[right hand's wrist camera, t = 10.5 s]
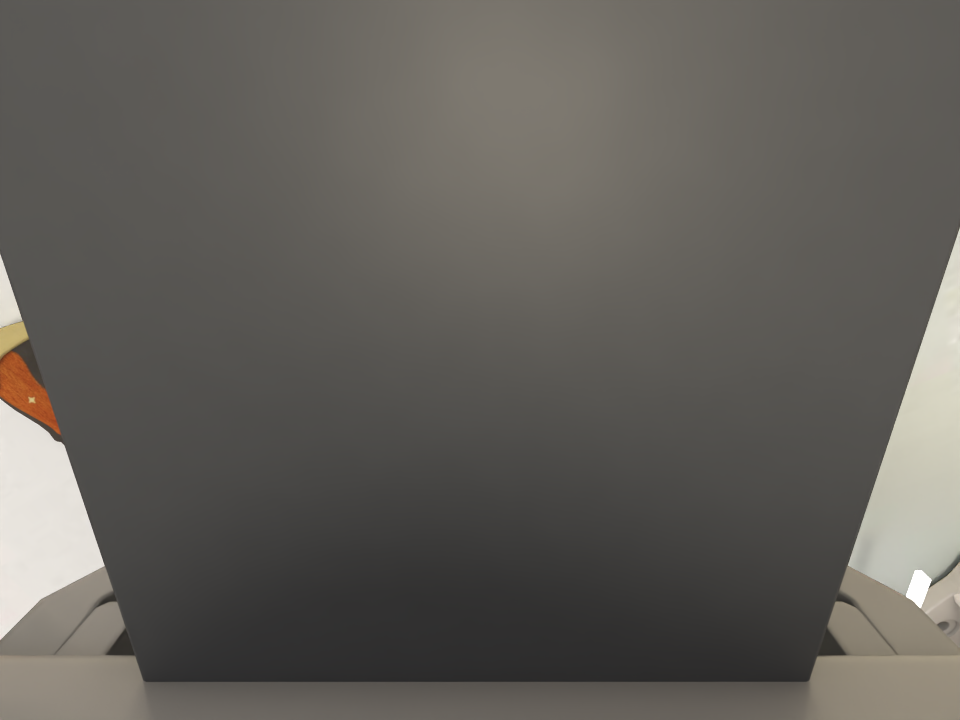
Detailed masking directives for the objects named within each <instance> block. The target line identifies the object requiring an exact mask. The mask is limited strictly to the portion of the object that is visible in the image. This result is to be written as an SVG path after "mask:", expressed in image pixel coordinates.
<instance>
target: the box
mask: <svg viewBox="0 0 960 720" xmlns="http://www.w3.org/2000/svg"><path fill="white" fill-rule="evenodd" d="M959 228H960V0H0V254H1V257H2V260H3V263H4V266H5V269H6V272H7V275H8V278H9V281H10V284H11V287H12V290H13V293H14V296H15V299H16V302H17V305H18V308H19V311H20V314H21V317H22V320H23V323H24V326H25V329H26V332H27V335H28V337H29V340H30V343H31V346H32V349H33V352H34V355H35V358H36V361H37V364H38V367H39V370H40V373H41V376H42V379H43V382H44V385H45V388H46V391H47V394H48V397H49V400H50V403H51V406H52V409H53V412H54V415H55V418H56V421H57V424H58V427H59V430H60V433H61V436H62V439H63V442H64V445H65V448H66V451H67V454H68V457H69V460H70V463H71V466H72V469H73V472H74V475H75V478H76V481H77V484H78V487H79V490H80V493H81V496H82V499H83V502H84V505H85V508H86V511H87V514H88V517H89V520H90V523H91V526H92V529H93V532H94V535H95V538H96V541H97V544H98V547H99V550H100V553H101V556H102V559H103V562H104V565H105V568H106V571H107V574H108V577H109V580H110V583H111V586H112V588H113V591H114V594H115V597H116V600H117V603H118V606H119V609H120V612H121V615H122V618H123V621H124V624H125V627H126V630H127V633H128V636H129V639H130V642H131V645H132V648H133V651H134V654H135V657H136V660H137V663H138V666H139V669H140V672H141V675H142V678H143V681H145V682H807V681H809V680H810V677H811V674H812V671H813V668H814V665H815V662H816V659H817V656H818V653H819V650H820V647H821V644H822V641H823V638H824V635H825V632H826V629H827V626H828V623H829V620H830V617H831V614H832V611H833V608H834V605H835V602H836V599H837V596H838V593H839V590H840V586H841V583H842V580H843V577H844V574H845V571H846V568H847V565H848V562H849V559H850V556H851V553H852V550H853V547H854V544H855V541H856V538H857V535H858V532H859V529H860V526H861V523H862V520H863V517H864V514H865V511H866V508H867V505H868V502H869V499H870V496H871V493H872V490H873V487H874V484H875V481H876V478H877V475H878V472H879V469H880V466H881V463H882V460H883V457H884V454H885V451H886V448H887V445H888V442H889V439H890V436H891V433H892V430H893V427H894V424H895V421H896V418H897V415H898V412H899V409H900V406H901V403H902V400H903V397H904V394H905V391H906V388H907V385H908V382H909V379H910V376H911V373H912V370H913V367H914V364H915V361H916V358H917V355H918V352H919V349H920V346H921V343H922V340H923V337H924V334H925V331H926V328H927V324H928V321H929V318H930V315H931V312H932V309H933V306H934V303H935V300H936V297H937V294H938V291H939V288H940V285H941V282H942V279H943V276H944V273H945V270H946V267H947V264H948V261H949V258H950V255H951V252H952V249H953V246H954V243H955V240H956V237H957V234H958V231H959Z"/></svg>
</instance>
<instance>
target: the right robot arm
mask: <svg viewBox="0 0 960 720" xmlns="http://www.w3.org/2000/svg"><path fill="white" fill-rule="evenodd" d="M930 582H931V579H930V578H929V577H928V576H927V575H925V574H924V573H923V572H922V571H921V570H916V571H915V573H914V576H913V579H912V582H911V584H910V587H909V590H908V592H907V595H906V596H904V595H902V594H900V593H898V592H897V591H895V590H893V589H891V588H889V587H887V586H885V585H883V584H881V583H879V582H878V581H876V580H874V579H872V578H870V577H868V576H866V575H864V574H862V573H861V572H859V571H857V570H855V569H853V568H851V567H849V566H847V568H846V571H845V574H844V577H843V580H842V583H841V586H840V590H839V593H838V596H837V599H836V602H835V605H834V608H833V611H832V614H831V617H830V620H829V623H828V626H827V629H826V632H825V635H824V638H823V641H822V644H821V647H820V650H819V653H818V656H817V659H816V662H815V665H814V668H813V671H812V674H811V677H810V680H809V681H807V682H145V681H143V678H142V675H141V672H140V669H139V666H138V663H137V660H136V657H135V654H134V651H133V648H132V645H131V642H130V639H129V636H128V633H127V630H126V627H125V624H124V621H123V618H122V615H121V612H120V609H119V606H118V603H117V600H116V597H115V594H114V591H113V588H112V586H111V583H110V580H109V577H108V574H107V571H106V568H105V566H104V567H102V568H100V569H98V570H96V571H94V572H93V573H91V574H89V575H87V576H85V577H83V578H81V579H79V580H77V581H75V582H73V583H71V584H70V585H68V586H66V587H64V588H62V589H60V590H58V591H56V592H54V593H52V594H50V595H48V596H47V597H45V598H43V599H41V600H40V601H39V602H38V603H37V604H36V605H35V606H34V607H33V608H32V609H31V610H30V611H29V612H28V613H27V614H26V615H25V616H24V617H23V618H22V619H21V620H20V621H19V622H18V623H17V624H16V625H15V626H14V627H13V628H12V629H11V630H10V631H9V632H8V633H7V634H6V635H5V636H4V637H3V638H2V639H1V640H0V720H960V562H959V563H958V564H957V566H956V567H955V568H954V569H953V570H952V571H951V572H950V573H949V574H948V575H947V576H946V577H944V578H943V579H941V580H940V581H938V582H937V583H936V584H934V585H933V586H931V587H930V588H928V587H929V584H930Z"/></svg>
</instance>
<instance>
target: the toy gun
mask: <svg viewBox="0 0 960 720" xmlns="http://www.w3.org/2000/svg"><path fill="white" fill-rule="evenodd" d="M0 399H1V400H3V401H4V402H5V403H6V404H8V405H9V406H10V407H12V408H13V409H14V410H16V411H17V412H19V413H21V414H22V415H24V416H26V417H27V418H29V419H30V420H32V421H34V422H35V423H37V424H39V425H40V426H41V427H43V428H44V429H45V430H46V431H48V432H49V433H50V435H51V436H52V437H53V438H54V440H56V441H58V442H62V443H63V444H64V442H63V439H62V436H61V433H60V430H59V427H58V424H57V421H56V418H55V415H54V412H53V409H52V406H51V403H50V400H49V397H48V394H47V391H46V388H45V385H44V382H43V379H42V376H41V373H40V370H39V367H38V364H37V361H36V358H35V355H34V352H33V349H32V346H31V343H30V340H29V337H28V335H27V332H26V329H25V326H24V323H23V321H22V322H19V323H15V324H12V325H9V326H6V327H3V328H0Z"/></svg>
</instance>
